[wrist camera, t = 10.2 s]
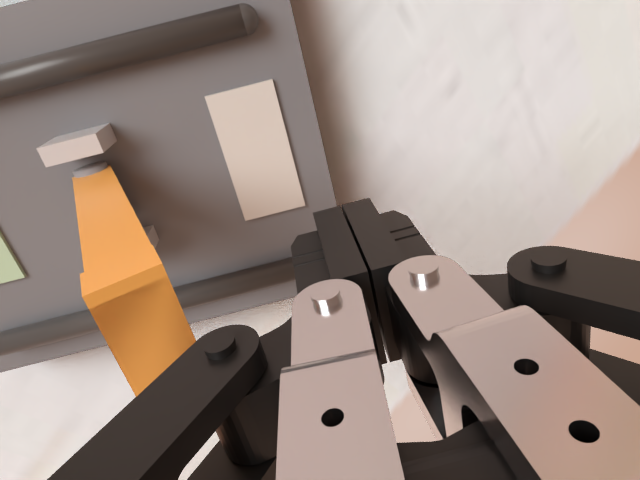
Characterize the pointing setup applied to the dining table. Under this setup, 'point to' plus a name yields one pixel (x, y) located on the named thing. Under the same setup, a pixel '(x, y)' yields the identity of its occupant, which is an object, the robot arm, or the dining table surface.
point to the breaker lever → (126, 280)
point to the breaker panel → (153, 155)
